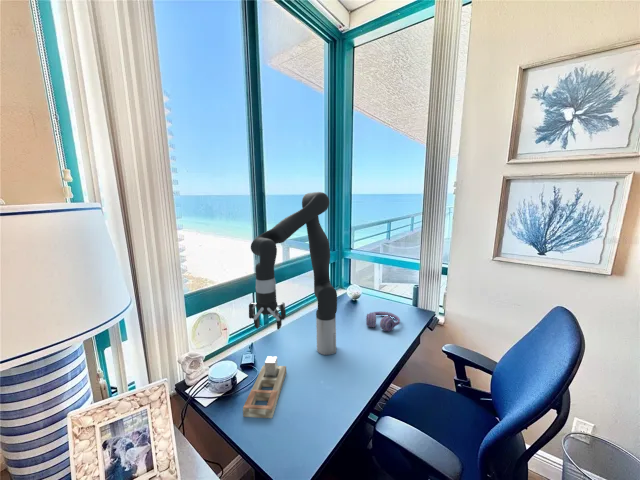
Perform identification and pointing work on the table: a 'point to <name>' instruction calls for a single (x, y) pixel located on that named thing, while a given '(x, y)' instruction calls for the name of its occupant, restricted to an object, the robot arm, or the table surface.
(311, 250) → the robot arm
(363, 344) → the table surface
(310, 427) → the table surface
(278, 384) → the wooden slotted board
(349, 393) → the table surface
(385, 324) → the headphones
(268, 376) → the steel peg
